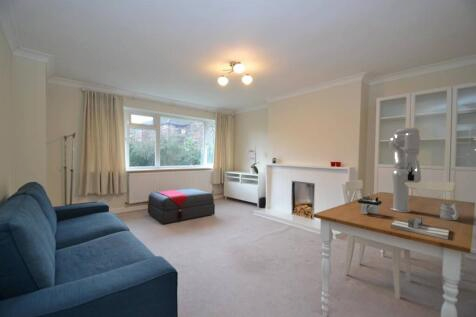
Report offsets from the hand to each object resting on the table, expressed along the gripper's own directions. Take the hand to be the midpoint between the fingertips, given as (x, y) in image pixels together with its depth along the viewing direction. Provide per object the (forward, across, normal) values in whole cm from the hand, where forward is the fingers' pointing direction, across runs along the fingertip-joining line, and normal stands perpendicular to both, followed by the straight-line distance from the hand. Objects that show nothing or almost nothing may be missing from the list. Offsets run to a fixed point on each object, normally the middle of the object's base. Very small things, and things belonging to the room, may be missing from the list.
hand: (410, 180), depth 145 cm
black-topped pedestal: (+28, -2, -24) cm, 37 cm away
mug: (+27, -25, +18) cm, 41 cm away
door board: (+27, +13, +6) cm, 31 cm away
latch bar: (+25, +14, +6) cm, 29 cm away
